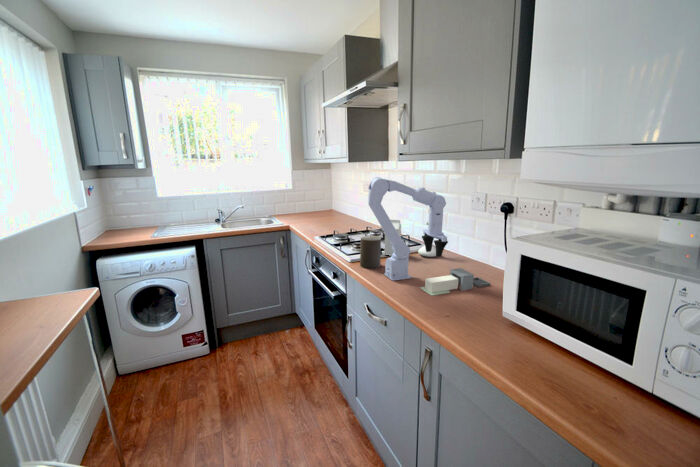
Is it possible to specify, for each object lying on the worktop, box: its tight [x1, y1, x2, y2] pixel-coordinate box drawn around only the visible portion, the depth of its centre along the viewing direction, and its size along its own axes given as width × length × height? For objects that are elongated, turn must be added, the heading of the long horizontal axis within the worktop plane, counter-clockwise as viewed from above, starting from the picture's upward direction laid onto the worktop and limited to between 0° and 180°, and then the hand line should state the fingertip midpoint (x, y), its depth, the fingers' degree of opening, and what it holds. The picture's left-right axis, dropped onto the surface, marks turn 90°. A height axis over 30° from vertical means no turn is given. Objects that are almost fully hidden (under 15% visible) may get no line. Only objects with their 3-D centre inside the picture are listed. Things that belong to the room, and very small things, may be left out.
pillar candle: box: [359, 235, 382, 270], centre depth 151 cm, size 10×10×15 cm
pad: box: [419, 286, 451, 297], centre depth 124 cm, size 8×8×1 cm
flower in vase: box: [417, 209, 437, 258], centre depth 166 cm, size 13×11×25 cm
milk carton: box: [383, 219, 402, 257], centre depth 168 cm, size 7×7×19 cm
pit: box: [473, 276, 491, 288], centre depth 130 cm, size 6×7×1 cm
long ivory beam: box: [424, 274, 459, 293], centre depth 124 cm, size 12×4×4 cm, turn 110°
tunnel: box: [449, 267, 475, 291], centre depth 127 cm, size 5×8×6 cm, turn 20°
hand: (433, 253), depth 137 cm, fingers open, 7 cm apart
